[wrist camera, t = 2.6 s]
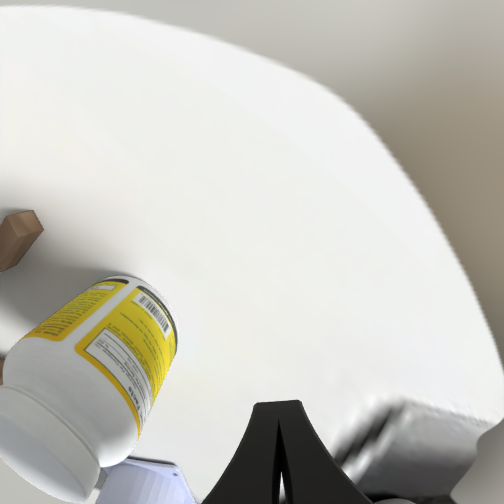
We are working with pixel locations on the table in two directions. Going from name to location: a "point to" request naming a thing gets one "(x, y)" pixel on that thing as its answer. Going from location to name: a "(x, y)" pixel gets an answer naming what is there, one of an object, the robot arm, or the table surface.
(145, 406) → the pill bottle
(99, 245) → the table surface
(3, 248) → the wooden u-shaped bracket
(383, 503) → the dark grey egg-shaped device
